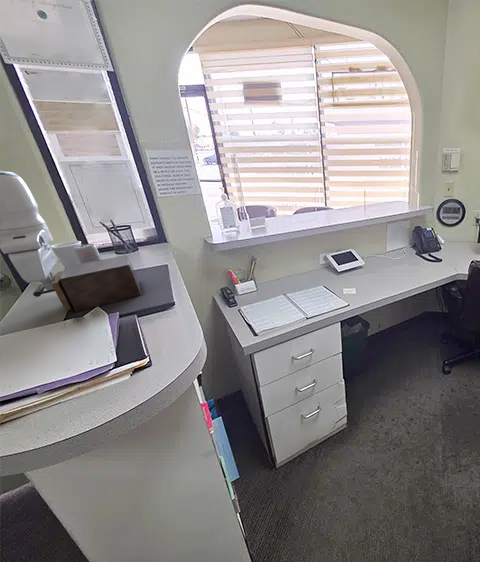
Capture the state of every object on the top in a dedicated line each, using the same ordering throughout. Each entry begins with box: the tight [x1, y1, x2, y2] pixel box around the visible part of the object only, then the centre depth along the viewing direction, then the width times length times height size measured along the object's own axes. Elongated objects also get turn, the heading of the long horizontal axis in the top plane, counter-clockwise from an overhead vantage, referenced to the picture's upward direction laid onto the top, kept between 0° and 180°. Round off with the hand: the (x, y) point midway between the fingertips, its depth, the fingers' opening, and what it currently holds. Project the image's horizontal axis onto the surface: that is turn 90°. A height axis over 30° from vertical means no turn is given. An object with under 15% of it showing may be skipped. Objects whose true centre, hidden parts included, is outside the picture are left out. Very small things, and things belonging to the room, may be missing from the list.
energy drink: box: [74, 243, 103, 264], centre depth 102 cm, size 5×5×12 cm
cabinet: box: [60, 254, 142, 313], centre depth 89 cm, size 15×13×10 cm
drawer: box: [32, 270, 73, 311], centre depth 87 cm, size 18×11×8 cm, turn 128°
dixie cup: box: [50, 240, 82, 268], centre depth 114 cm, size 8×8×10 cm
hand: (51, 287), depth 83 cm, fingers closed
